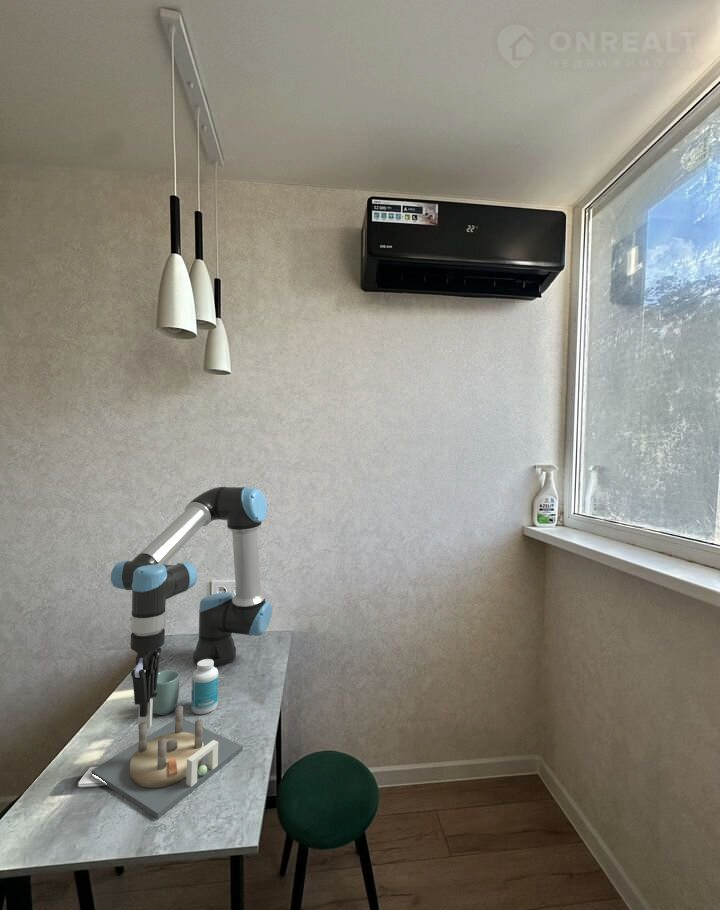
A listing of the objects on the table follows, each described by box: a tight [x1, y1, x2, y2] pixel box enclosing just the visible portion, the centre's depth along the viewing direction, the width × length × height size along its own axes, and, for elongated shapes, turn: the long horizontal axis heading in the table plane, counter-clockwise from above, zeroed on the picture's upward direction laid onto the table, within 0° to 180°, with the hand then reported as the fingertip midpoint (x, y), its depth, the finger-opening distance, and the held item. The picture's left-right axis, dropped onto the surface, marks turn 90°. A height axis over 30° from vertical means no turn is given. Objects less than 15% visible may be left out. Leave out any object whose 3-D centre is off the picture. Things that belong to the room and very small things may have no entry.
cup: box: [152, 669, 180, 716], centre depth 125 cm, size 8×8×10 cm
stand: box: [90, 718, 244, 820], centre depth 104 cm, size 24×24×7 cm
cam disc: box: [130, 705, 204, 788], centre depth 102 cm, size 17×16×8 cm
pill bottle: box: [190, 659, 219, 715], centre depth 126 cm, size 8×7×14 cm
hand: (145, 726), depth 104 cm, fingers closed
